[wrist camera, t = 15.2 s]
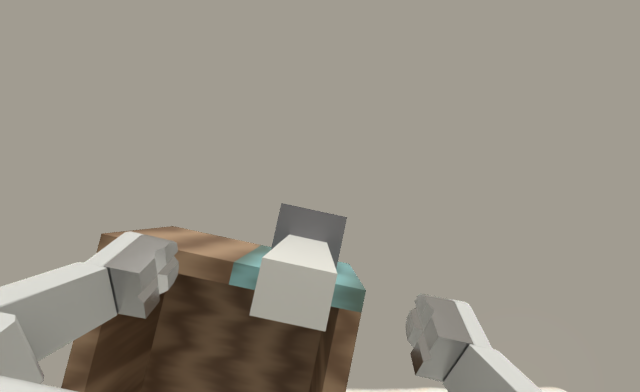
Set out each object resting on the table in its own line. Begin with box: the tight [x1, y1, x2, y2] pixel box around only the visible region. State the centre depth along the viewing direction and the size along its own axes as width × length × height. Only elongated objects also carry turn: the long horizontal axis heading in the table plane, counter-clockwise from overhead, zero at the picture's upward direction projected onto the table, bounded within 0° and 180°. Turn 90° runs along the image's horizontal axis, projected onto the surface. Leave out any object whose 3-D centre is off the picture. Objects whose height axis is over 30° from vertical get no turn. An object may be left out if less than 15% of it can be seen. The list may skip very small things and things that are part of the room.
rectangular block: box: [249, 203, 347, 331], centre depth 24 cm, size 7×20×6 cm, turn 0°
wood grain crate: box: [61, 226, 366, 392], centre depth 29 cm, size 24×12×26 cm, turn 90°
